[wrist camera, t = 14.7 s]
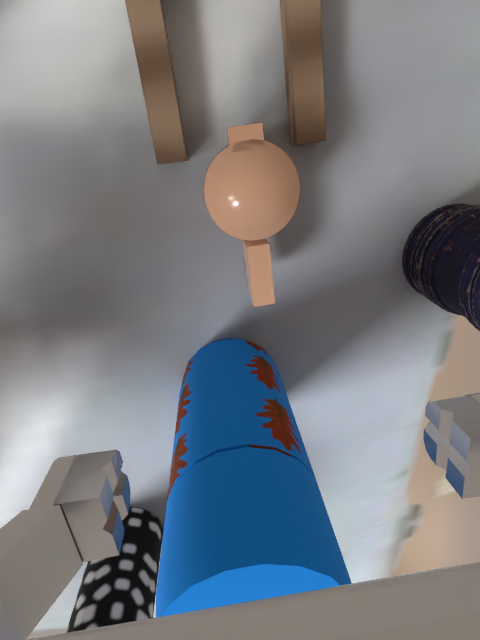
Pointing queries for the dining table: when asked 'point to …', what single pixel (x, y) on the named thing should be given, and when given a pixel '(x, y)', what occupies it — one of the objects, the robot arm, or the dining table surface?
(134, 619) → the white-spotted black cylinder
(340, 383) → the dining table surface
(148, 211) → the dining table surface
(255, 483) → the thermos
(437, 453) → the robot arm
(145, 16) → the brown block arch
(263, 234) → the tan rounded piece
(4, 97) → the dining table surface
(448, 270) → the storage jar
